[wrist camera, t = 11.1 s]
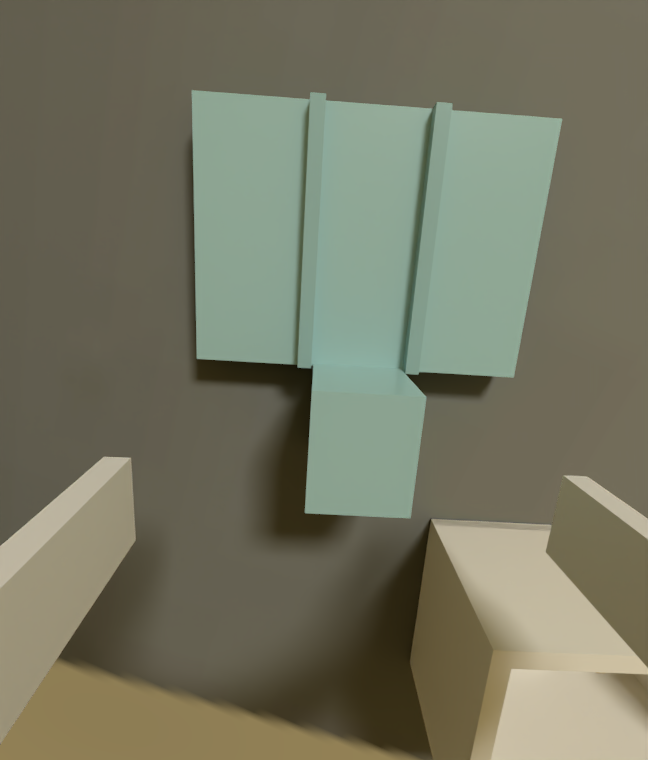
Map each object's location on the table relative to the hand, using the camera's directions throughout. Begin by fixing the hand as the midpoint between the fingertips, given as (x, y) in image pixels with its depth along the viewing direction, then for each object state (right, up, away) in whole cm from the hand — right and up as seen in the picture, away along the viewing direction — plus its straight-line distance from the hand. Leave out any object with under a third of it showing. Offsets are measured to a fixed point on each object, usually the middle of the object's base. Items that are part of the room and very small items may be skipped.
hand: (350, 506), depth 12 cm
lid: (+1, +8, +7) cm, 10 cm away
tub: (+12, -9, +11) cm, 19 cm away
